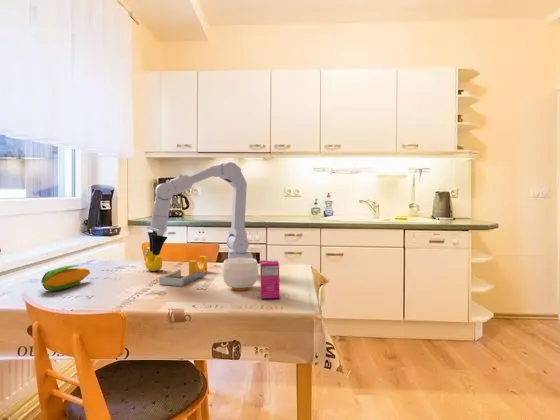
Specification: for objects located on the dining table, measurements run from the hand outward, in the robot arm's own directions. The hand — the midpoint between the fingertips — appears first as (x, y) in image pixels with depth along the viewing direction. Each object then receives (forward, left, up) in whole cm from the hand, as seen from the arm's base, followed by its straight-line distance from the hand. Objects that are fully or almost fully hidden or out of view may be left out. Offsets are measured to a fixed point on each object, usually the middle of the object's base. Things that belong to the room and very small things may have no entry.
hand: (154, 253), depth 150 cm
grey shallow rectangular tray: (-8, -4, -11) cm, 14 cm away
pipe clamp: (-9, -16, -11) cm, 21 cm away
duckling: (+12, -17, -11) cm, 23 cm away
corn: (+25, +15, -11) cm, 31 cm away
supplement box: (-46, +8, -11) cm, 48 cm away
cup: (-33, 0, -11) cm, 35 cm away
